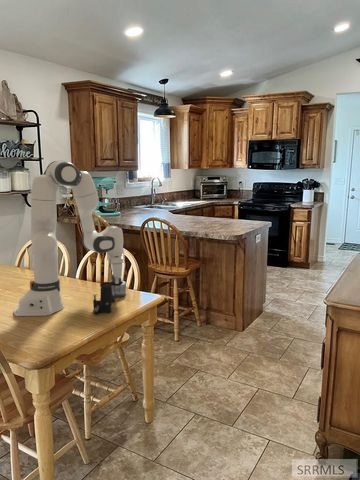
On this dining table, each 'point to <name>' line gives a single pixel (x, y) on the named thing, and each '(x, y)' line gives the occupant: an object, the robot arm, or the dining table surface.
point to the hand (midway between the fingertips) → (116, 281)
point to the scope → (104, 299)
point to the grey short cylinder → (118, 290)
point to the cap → (114, 280)
